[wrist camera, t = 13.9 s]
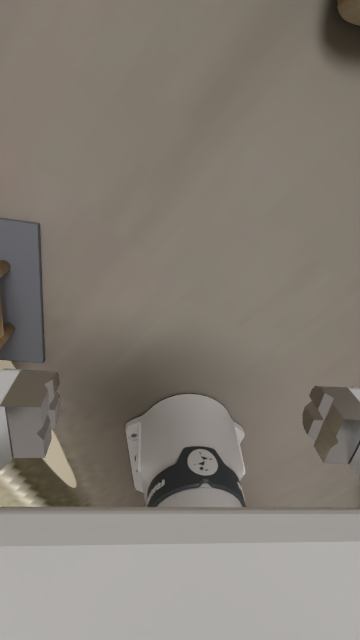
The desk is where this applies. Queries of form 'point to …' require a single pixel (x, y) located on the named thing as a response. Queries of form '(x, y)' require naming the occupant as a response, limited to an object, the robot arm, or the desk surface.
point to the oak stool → (3, 332)
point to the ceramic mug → (350, 11)
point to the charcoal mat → (22, 291)
